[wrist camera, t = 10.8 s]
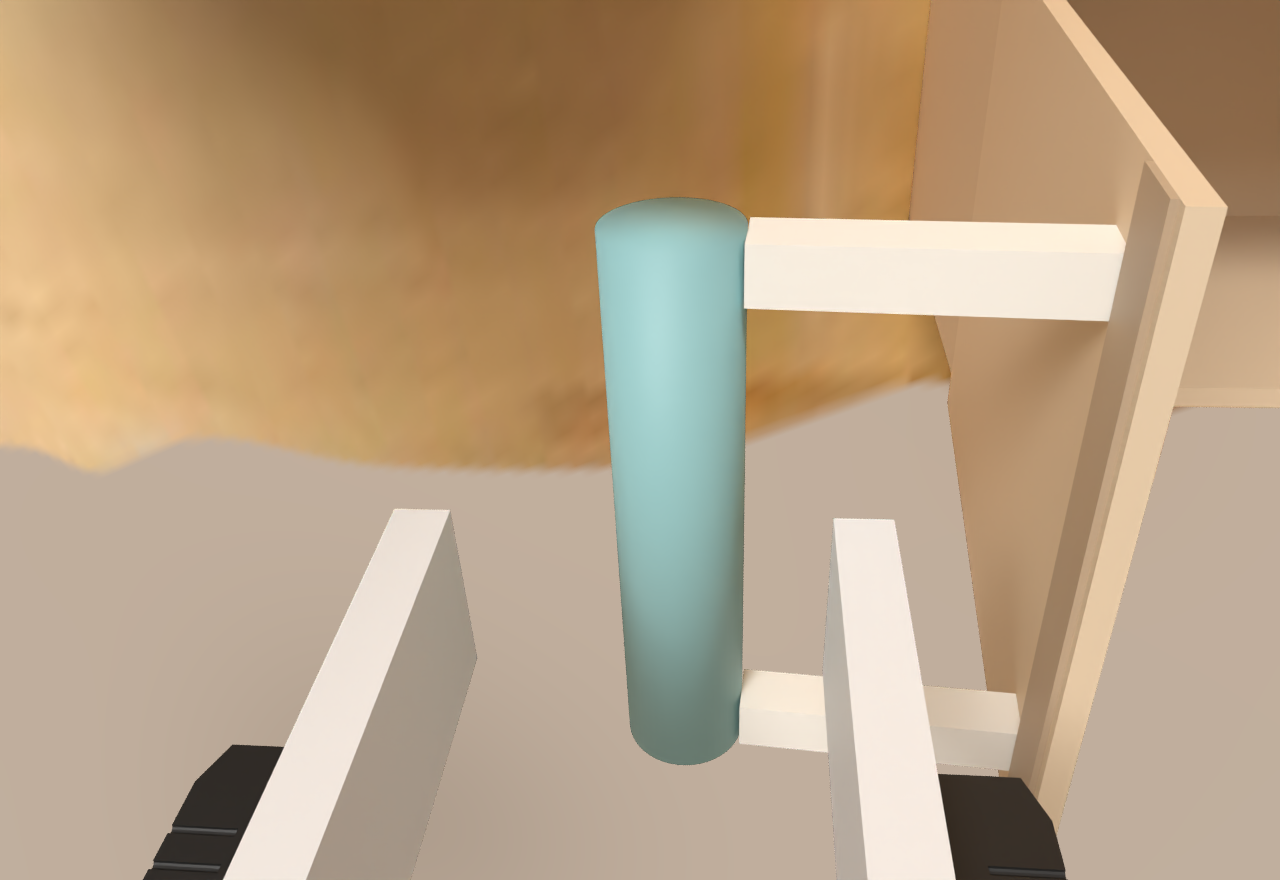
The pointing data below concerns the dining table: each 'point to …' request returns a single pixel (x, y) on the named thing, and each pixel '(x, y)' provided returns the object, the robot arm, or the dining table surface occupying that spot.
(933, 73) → the carton
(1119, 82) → the flap
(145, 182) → the dining table surface
